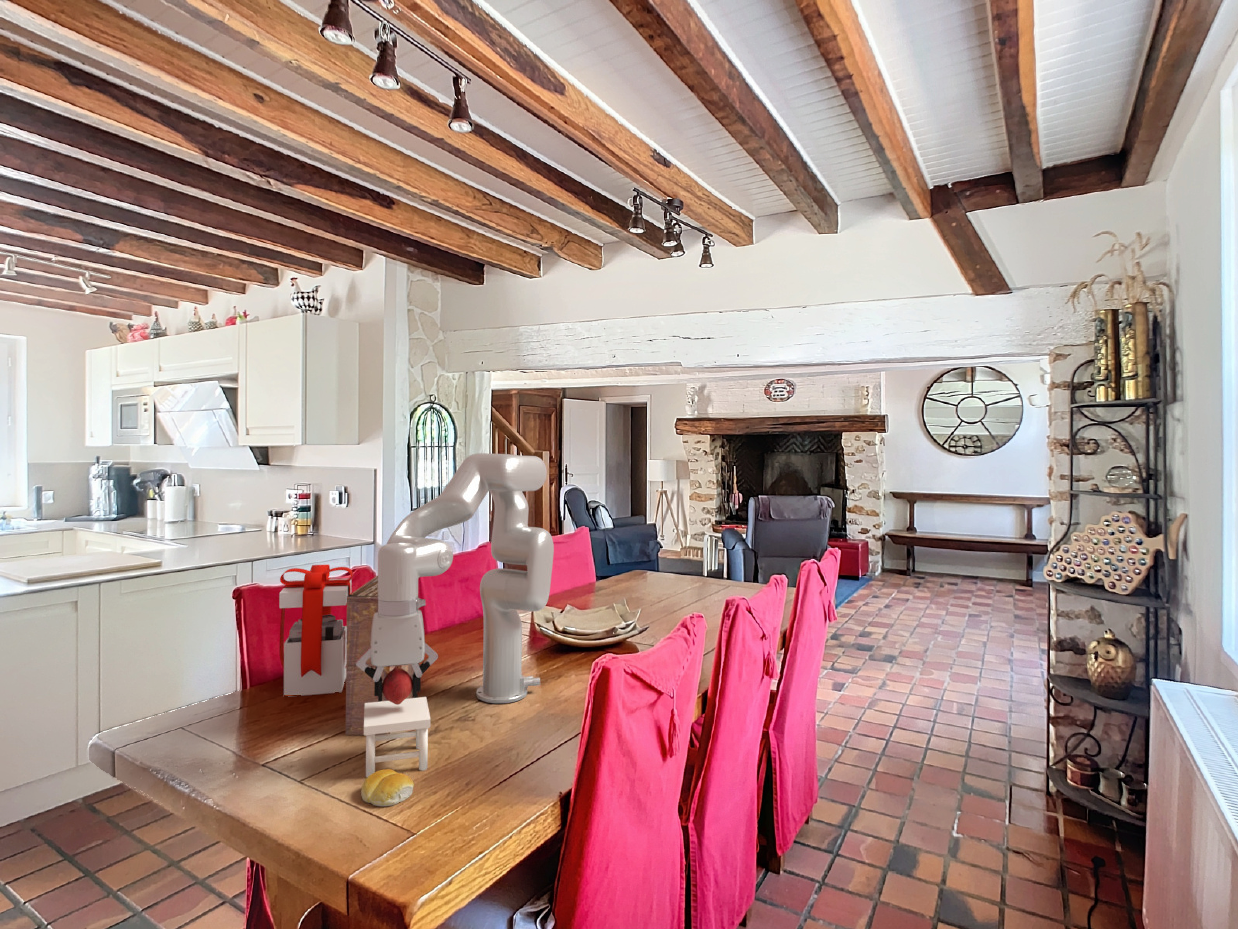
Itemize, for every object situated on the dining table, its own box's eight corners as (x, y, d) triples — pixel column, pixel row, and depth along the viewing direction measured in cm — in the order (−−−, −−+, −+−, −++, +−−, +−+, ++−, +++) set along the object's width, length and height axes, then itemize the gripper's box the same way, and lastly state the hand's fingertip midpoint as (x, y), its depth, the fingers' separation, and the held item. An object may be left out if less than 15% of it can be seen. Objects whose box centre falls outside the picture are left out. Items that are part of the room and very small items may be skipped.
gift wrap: (273, 700, 164) (273, 576, 163) (286, 676, 181) (286, 564, 180) (349, 694, 169) (350, 574, 168) (355, 671, 185) (356, 562, 184)
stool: (425, 744, 143) (426, 696, 142) (429, 770, 131) (430, 719, 131) (364, 751, 138) (364, 703, 138) (363, 779, 127) (363, 727, 127)
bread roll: (387, 779, 128) (388, 758, 128) (421, 793, 123) (421, 771, 123) (349, 798, 121) (350, 776, 121) (383, 813, 116) (383, 790, 116)
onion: (395, 712, 131) (395, 671, 130) (375, 706, 134) (375, 665, 133) (419, 703, 136) (419, 663, 135) (399, 696, 139) (399, 657, 138)
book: (379, 692, 171) (380, 573, 170) (416, 692, 172) (417, 573, 171) (345, 736, 146) (346, 596, 145) (389, 735, 146) (390, 596, 145)
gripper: (441, 599, 140) (440, 686, 141) (351, 605, 135) (351, 695, 135) (445, 608, 133) (444, 699, 134) (350, 614, 127) (349, 709, 128)
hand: (397, 696), depth 135 cm, fingers closed on onion, 5 cm apart
